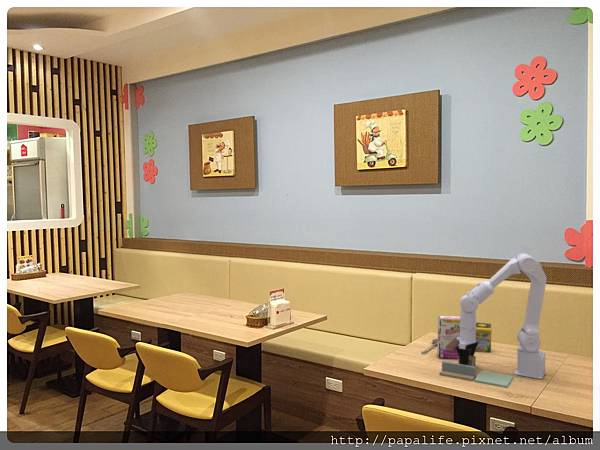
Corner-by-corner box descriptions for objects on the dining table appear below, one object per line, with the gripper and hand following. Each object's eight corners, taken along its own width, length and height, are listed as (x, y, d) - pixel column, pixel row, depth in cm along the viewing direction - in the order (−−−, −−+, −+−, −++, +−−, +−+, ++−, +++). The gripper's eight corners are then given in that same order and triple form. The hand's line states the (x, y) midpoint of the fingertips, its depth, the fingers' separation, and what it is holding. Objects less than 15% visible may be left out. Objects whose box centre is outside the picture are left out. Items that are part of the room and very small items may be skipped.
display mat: (513, 377, 193) (513, 376, 193) (507, 387, 184) (507, 385, 184) (481, 372, 199) (482, 370, 199) (474, 381, 190) (474, 379, 190)
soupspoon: (450, 345, 236) (436, 343, 240) (450, 337, 236) (436, 336, 240) (430, 356, 219) (415, 354, 223) (430, 348, 219) (415, 346, 223)
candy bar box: (438, 358, 215) (439, 318, 214) (436, 355, 220) (437, 315, 219) (467, 359, 214) (468, 319, 212) (465, 355, 219) (465, 316, 217)
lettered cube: (475, 369, 203) (475, 355, 203) (472, 373, 199) (472, 359, 198) (462, 366, 206) (462, 353, 205) (458, 370, 201) (458, 357, 201)
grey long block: (475, 377, 194) (476, 366, 194) (472, 381, 190) (473, 370, 190) (442, 371, 200) (443, 360, 200) (439, 374, 197) (439, 364, 196)
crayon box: (472, 351, 225) (473, 323, 224) (472, 349, 228) (473, 322, 227) (490, 352, 223) (491, 325, 222) (490, 350, 225) (491, 323, 225)
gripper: (462, 321, 209) (461, 356, 210) (451, 330, 197) (450, 366, 198) (481, 324, 206) (480, 359, 207) (471, 333, 193) (470, 370, 194)
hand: (466, 363), depth 202 cm, fingers open, 7 cm apart
